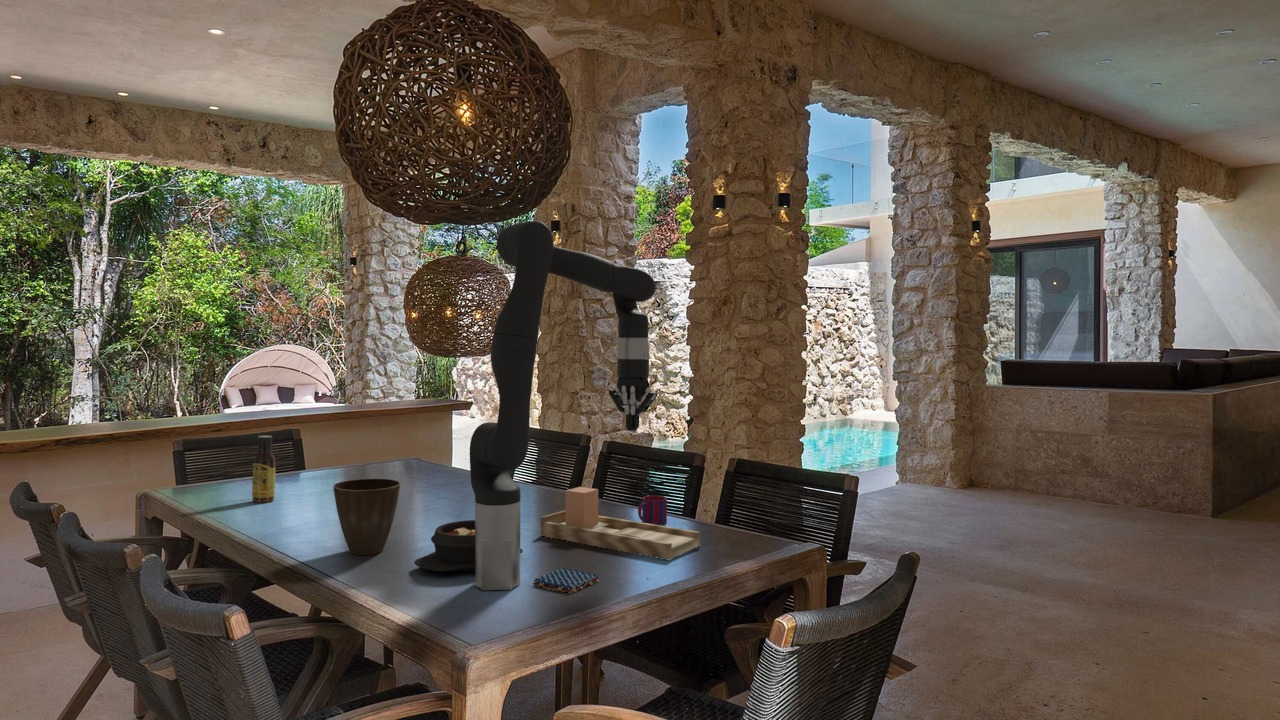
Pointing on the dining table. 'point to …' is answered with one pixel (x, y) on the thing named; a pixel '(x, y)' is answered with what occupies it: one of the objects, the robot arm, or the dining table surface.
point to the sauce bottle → (264, 472)
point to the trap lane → (623, 535)
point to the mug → (653, 510)
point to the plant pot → (366, 512)
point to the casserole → (452, 548)
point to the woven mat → (566, 580)
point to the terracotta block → (581, 507)
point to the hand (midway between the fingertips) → (632, 430)
